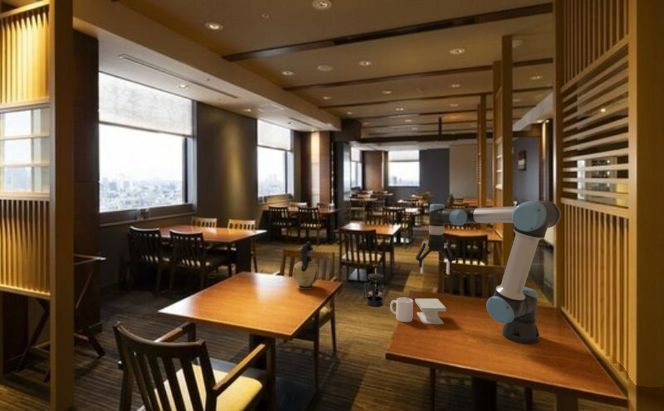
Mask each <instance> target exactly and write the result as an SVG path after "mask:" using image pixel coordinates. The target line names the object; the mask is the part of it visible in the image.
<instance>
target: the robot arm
mask: <svg viewBox="0 0 664 411" xmlns="http://www.w3.org/2000/svg"><path fill="white" fill-rule="evenodd" d="M428 214H429V215H428V217H429V219H428V220H429V221H428V241H427V242H424V241H423V242H421V247H420V249H419V250H418V252H417V254H416V256H415V260H416V261H418V267H419V268H420V274H421V275H424V264H425V263H424V259H426V257H427V256H428V255H429V254H430V253H431V252H441V253H442V254H443V256H444V257H445V259H447V260H446V270H445V271H446V272H445V274H447V275H450V269H452V264H453V262H455V261H456V258H455V256H454V253H453V251H452V249H451V245H450V243H449V242H444V237H445V235H444V232H445V231H444V230H445V224H446V225H454V226H464V224H513V227H512V228H513V229H512V230H513V232H514V233H515V236H514V239H513V244H512V247H511V250H510V254H509V256H508V259H507V263H506V267H505V270H504V274H503V276H502V281H501V284H500V285H497V286H496V287H495V289H494V293H493V296H491V297H489V298H488V299H487V301H486V305H485V306H486V311H487V313H488V314H489V316H490V318H491V319H493V321H495V322H496V323H499V324H504V325H503V327H502V335H503V337H504V338H506V339H508V340H510V341H513V342H516V343H520V344H526V345H528V344H529V345H532V344H538V343H539V342H540V336H541V335H540V332H539V329H538V324H537V308H538V292H537V290H535V289H533V288H531V287H527V286H525V285H526V282H527V279H528V276H529V273H530V271H531V270H530V269H531V266H532V263H533V260H534V256H535V254H536V250H537V248H538V244H539V241H540V240H541V241H542V240H543V239H545V236H546V235H547V231H548V229H550V228H552V227H555V226H556V225H557V224H558V223H559V222H560V221H561V216H562V212H561V209H560V207H559V206H558V205H557V204H556V203H554V202H553V201H549V200H528V201H525V202H524V201H523V202H522V203H520V204H518V205H517V206H515V205H514V206H495V207H467V208H455V209H454V208H453V209H452V208H451V209H450V208H445V204H442V203H432V204H430V205H429V211H428ZM426 247H427V249H426ZM444 247H445V248H446V250H447V251H448V253H447V252H446V250H444V249H443V248H444ZM425 249H426V251H425ZM448 254H449V255H448Z"/></svg>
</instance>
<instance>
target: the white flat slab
mask: <svg viewBox="0 0 664 411" xmlns="http://www.w3.org/2000/svg"><path fill="white" fill-rule="evenodd" d="M414 302H415V303H416V305H417V306H418V307H419V309H420V311H421V312H422V311H438V312H447V307H445V305H444V304H443V303H442V302H441V301H440V300H439V299H438V298H415V299H414Z"/></svg>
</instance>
